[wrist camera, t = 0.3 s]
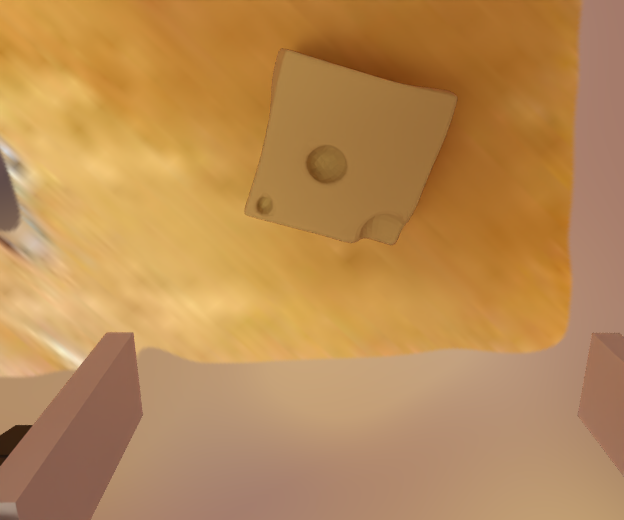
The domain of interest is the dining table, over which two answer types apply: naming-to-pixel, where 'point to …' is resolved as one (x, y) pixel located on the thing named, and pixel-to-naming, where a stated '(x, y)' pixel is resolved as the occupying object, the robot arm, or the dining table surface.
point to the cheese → (346, 150)
